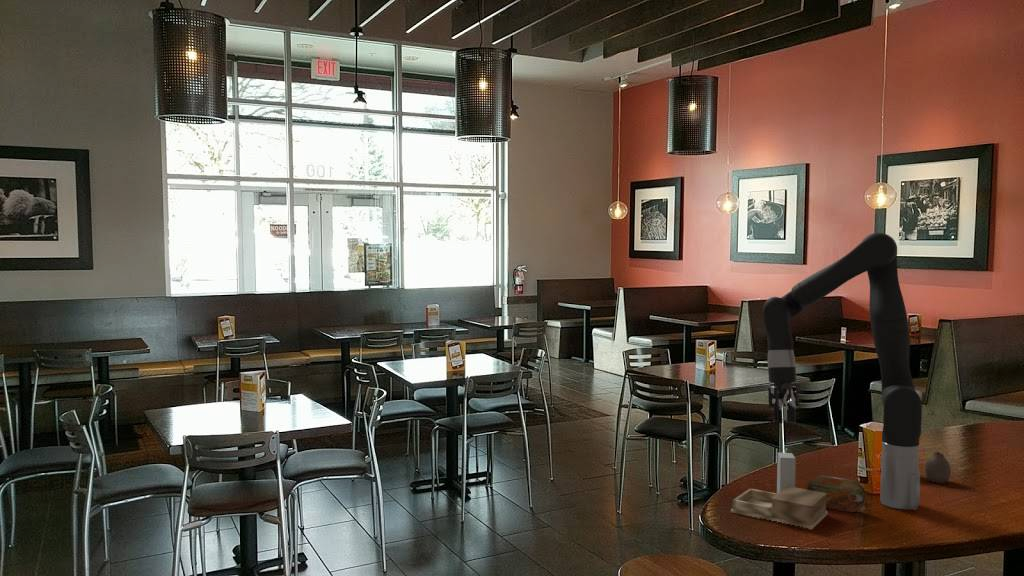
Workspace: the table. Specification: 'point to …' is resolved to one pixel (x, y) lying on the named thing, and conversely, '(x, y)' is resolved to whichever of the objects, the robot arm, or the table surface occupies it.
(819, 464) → the table surface
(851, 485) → the tin
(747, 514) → the organizer tray
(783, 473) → the skincare box
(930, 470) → the vase
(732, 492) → the table surface
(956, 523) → the table surface
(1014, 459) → the table surface
